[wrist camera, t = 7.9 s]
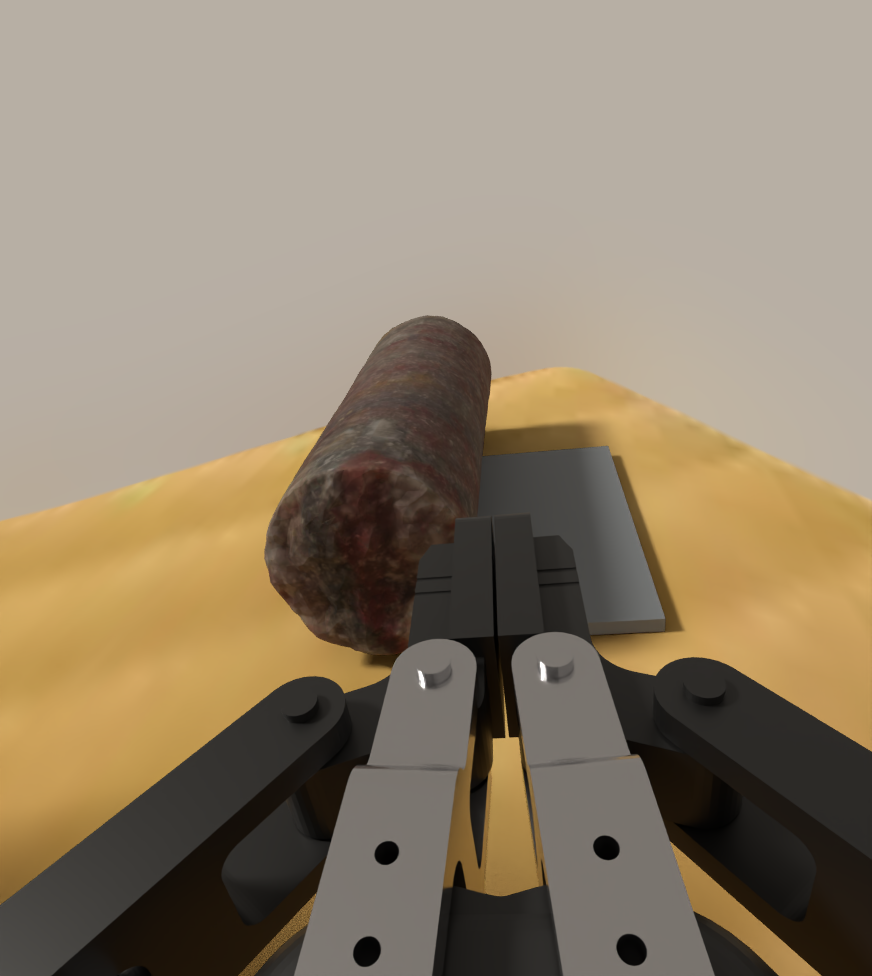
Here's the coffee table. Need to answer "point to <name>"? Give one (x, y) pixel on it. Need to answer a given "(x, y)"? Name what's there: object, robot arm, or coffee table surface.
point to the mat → (580, 528)
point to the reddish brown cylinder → (384, 486)
